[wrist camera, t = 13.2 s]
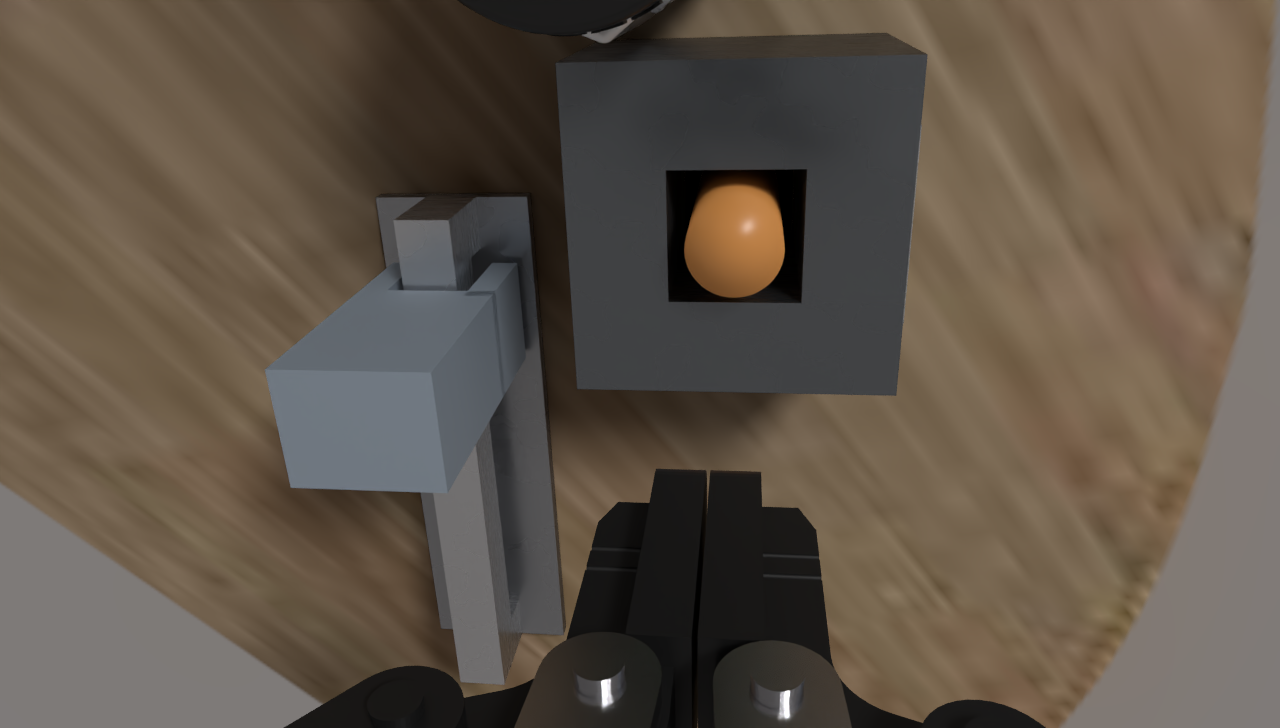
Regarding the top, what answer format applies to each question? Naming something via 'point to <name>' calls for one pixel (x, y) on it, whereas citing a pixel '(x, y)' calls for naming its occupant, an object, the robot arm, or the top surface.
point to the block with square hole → (741, 140)
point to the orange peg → (735, 232)
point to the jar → (570, 15)
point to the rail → (488, 440)
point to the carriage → (398, 384)
